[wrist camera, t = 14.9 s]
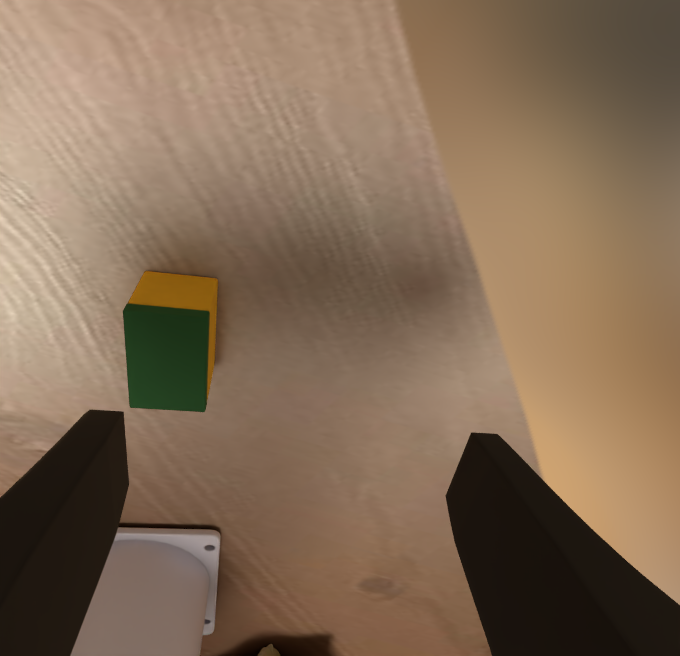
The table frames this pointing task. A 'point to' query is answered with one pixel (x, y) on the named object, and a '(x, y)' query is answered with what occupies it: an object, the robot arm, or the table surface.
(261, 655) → the fruit
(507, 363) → the table surface
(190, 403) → the sponge
